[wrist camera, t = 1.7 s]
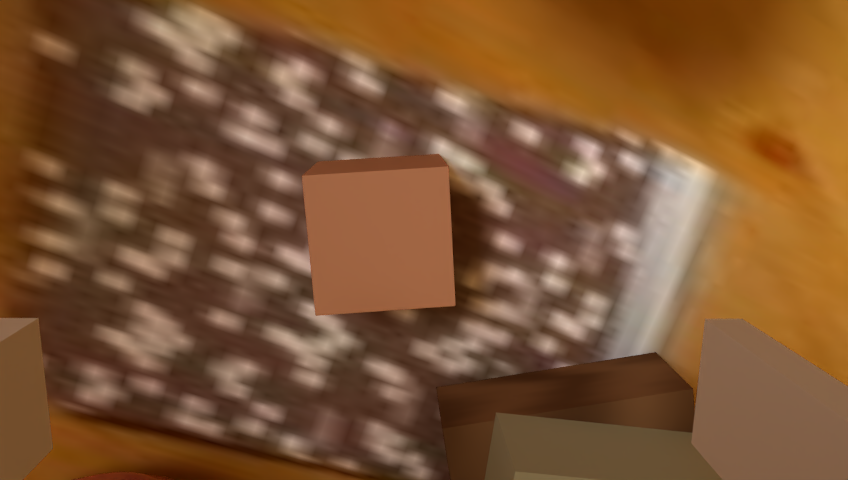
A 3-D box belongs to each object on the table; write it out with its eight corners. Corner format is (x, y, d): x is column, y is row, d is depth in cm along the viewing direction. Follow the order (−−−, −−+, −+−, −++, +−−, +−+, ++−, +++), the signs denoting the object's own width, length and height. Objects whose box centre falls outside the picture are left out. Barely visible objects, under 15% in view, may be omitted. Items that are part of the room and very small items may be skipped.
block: (328, 277, 34) (315, 315, 28) (318, 161, 33) (302, 175, 27) (445, 269, 34) (455, 306, 29) (438, 153, 33) (448, 166, 27)
